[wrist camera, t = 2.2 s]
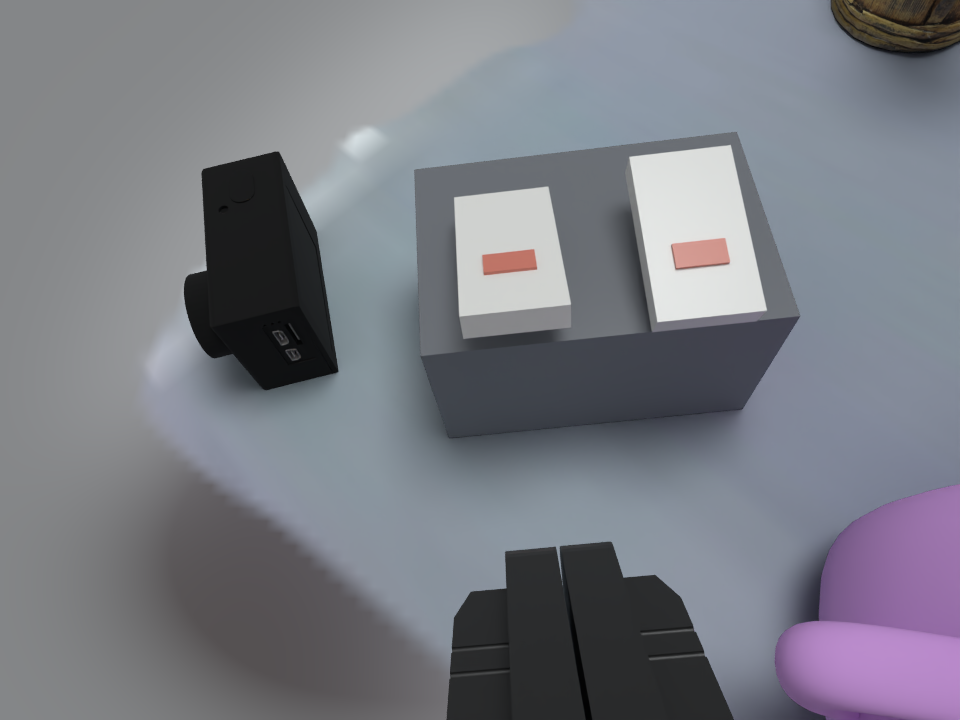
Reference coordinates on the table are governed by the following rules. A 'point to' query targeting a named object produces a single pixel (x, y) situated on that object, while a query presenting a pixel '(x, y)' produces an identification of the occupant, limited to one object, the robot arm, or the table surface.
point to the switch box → (586, 306)
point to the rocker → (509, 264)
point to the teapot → (884, 618)
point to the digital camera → (261, 276)
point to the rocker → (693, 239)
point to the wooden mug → (901, 23)
